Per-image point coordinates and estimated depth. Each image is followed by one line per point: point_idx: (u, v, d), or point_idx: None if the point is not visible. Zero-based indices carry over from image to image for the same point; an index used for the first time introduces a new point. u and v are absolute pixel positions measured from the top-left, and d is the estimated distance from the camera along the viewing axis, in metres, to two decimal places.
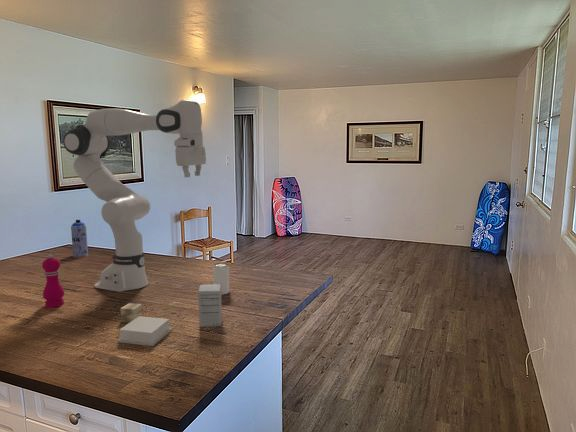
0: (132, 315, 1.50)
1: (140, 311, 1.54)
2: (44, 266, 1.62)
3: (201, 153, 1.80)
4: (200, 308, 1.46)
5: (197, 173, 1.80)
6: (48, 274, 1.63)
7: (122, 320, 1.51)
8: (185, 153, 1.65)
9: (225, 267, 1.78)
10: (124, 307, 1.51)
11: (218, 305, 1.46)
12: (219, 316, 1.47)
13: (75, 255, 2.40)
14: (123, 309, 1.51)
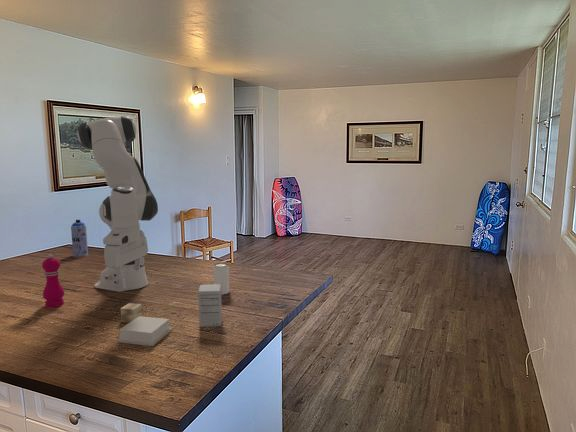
0: (132, 315, 1.50)
1: (140, 311, 1.54)
2: (44, 266, 1.62)
3: (141, 244, 1.55)
4: (200, 308, 1.46)
5: (136, 268, 1.54)
6: (48, 274, 1.63)
7: (122, 320, 1.51)
8: (115, 254, 1.40)
9: (225, 267, 1.78)
10: (124, 307, 1.51)
11: (218, 305, 1.46)
12: (219, 316, 1.47)
13: (75, 255, 2.40)
14: (123, 309, 1.51)
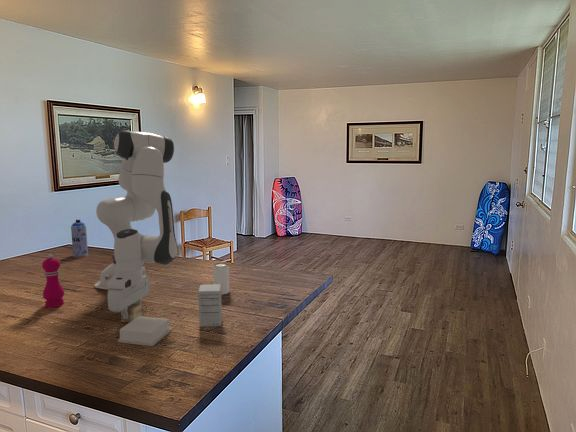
0: (132, 314, 1.50)
1: (140, 311, 1.54)
2: (44, 266, 1.62)
3: (143, 285, 1.57)
4: (200, 308, 1.46)
5: None
6: (48, 274, 1.63)
7: (122, 320, 1.51)
8: (118, 298, 1.42)
9: (225, 267, 1.78)
10: None
11: (218, 305, 1.46)
12: (219, 316, 1.47)
13: (75, 255, 2.40)
14: None
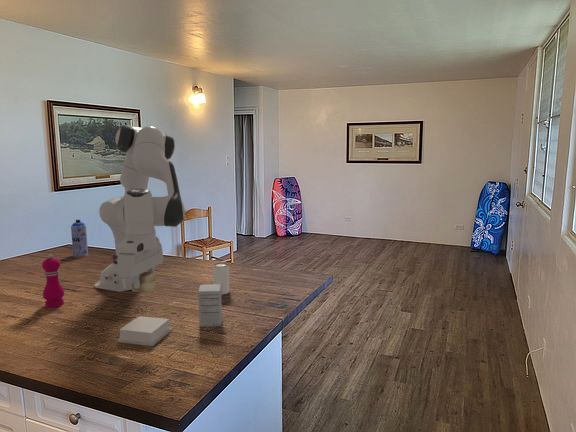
0: (145, 283, 1.34)
1: (153, 280, 1.38)
2: (44, 266, 1.62)
3: (156, 252, 1.41)
4: (200, 308, 1.46)
5: None
6: (48, 274, 1.63)
7: (133, 289, 1.36)
8: (130, 263, 1.26)
9: (225, 267, 1.78)
10: None
11: (218, 305, 1.46)
12: (219, 316, 1.47)
13: (75, 255, 2.40)
14: None
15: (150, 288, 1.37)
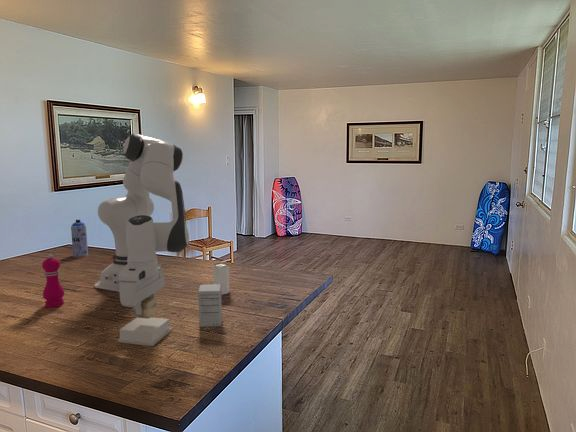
0: (146, 309, 1.36)
1: (154, 305, 1.40)
2: (44, 266, 1.62)
3: (157, 277, 1.43)
4: (200, 308, 1.46)
5: None
6: (48, 274, 1.63)
7: (135, 315, 1.37)
8: (132, 291, 1.28)
9: (225, 267, 1.78)
10: None
11: (218, 305, 1.46)
12: (219, 316, 1.47)
13: (75, 255, 2.40)
14: None
15: (152, 314, 1.38)
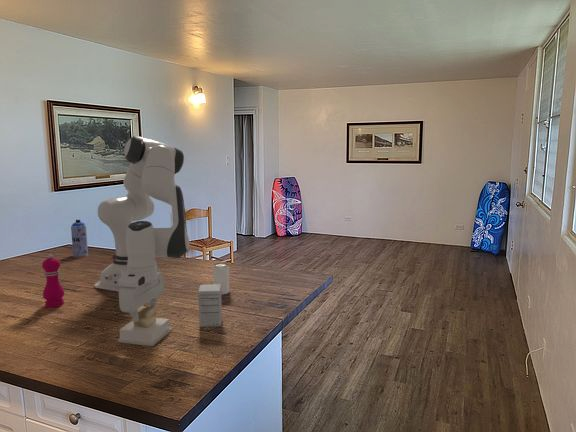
0: (146, 319, 1.36)
1: (154, 314, 1.40)
2: (44, 266, 1.62)
3: (157, 282, 1.43)
4: (200, 308, 1.46)
5: None
6: (48, 274, 1.63)
7: (134, 324, 1.37)
8: (131, 297, 1.28)
9: (225, 267, 1.78)
10: None
11: (218, 305, 1.46)
12: (219, 316, 1.47)
13: (75, 255, 2.40)
14: None
15: (151, 323, 1.39)
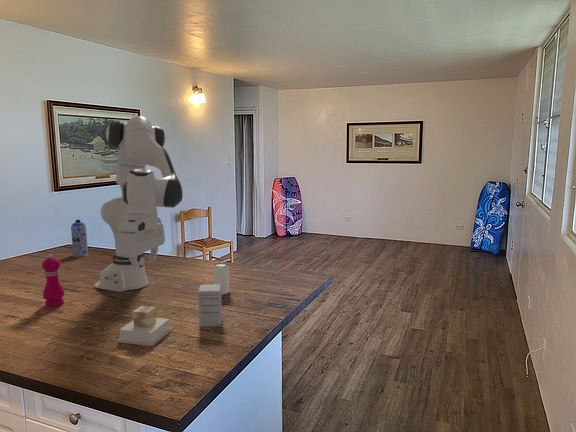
0: (146, 319, 1.36)
1: (154, 314, 1.40)
2: (44, 266, 1.62)
3: (157, 233, 1.42)
4: (200, 308, 1.46)
5: (152, 258, 1.42)
6: (48, 274, 1.63)
7: (134, 324, 1.37)
8: (131, 242, 1.27)
9: (225, 267, 1.78)
10: (137, 310, 1.38)
11: (218, 305, 1.46)
12: (219, 316, 1.47)
13: (75, 255, 2.40)
14: (136, 312, 1.37)
15: (151, 323, 1.39)
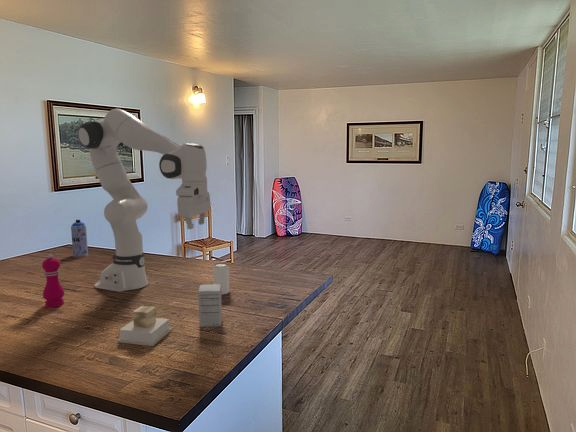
0: (146, 319, 1.36)
1: (154, 314, 1.40)
2: (44, 266, 1.62)
3: (205, 199, 1.64)
4: (200, 308, 1.46)
5: (201, 221, 1.63)
6: (48, 274, 1.63)
7: (134, 324, 1.37)
8: (188, 204, 1.49)
9: (225, 267, 1.78)
10: (137, 310, 1.38)
11: (218, 305, 1.46)
12: (219, 316, 1.47)
13: (75, 255, 2.40)
14: (136, 312, 1.37)
15: (151, 323, 1.39)
